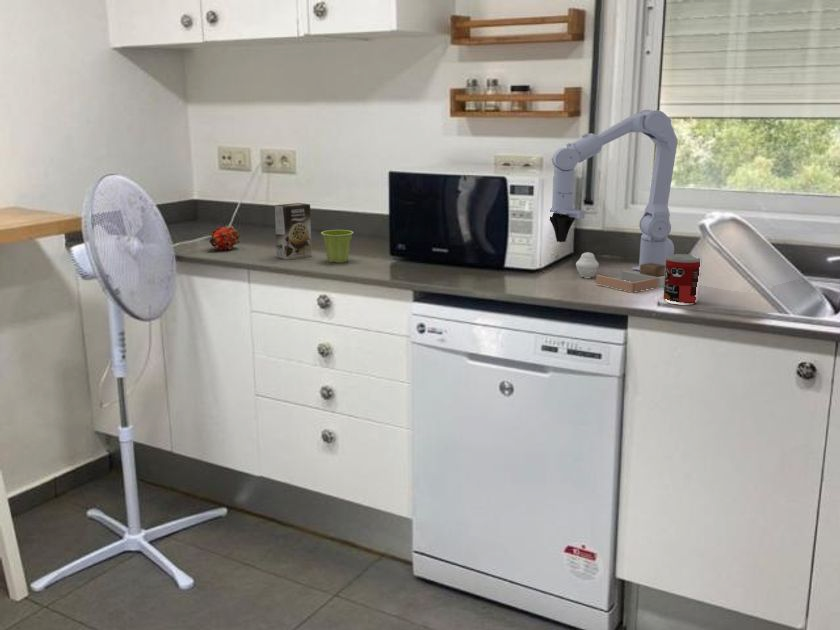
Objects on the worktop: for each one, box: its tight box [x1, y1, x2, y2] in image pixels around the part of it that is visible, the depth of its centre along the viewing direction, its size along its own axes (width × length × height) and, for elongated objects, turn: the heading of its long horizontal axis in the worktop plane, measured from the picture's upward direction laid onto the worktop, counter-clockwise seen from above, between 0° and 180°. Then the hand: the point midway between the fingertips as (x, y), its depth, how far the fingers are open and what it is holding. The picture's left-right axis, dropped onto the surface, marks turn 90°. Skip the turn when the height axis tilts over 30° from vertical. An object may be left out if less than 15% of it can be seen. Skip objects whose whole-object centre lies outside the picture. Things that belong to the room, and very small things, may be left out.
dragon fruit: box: [209, 224, 240, 252], centre depth 271 cm, size 8×8×12 cm
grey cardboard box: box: [274, 202, 313, 261], centre depth 258 cm, size 9×6×16 cm
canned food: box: [663, 253, 700, 303], centre depth 202 cm, size 8×8×11 cm
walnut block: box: [639, 263, 665, 277], centre depth 225 cm, size 4×4×4 cm
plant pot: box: [320, 229, 354, 264], centre depth 253 cm, size 9×9×9 cm
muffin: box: [575, 251, 600, 278], centre depth 230 cm, size 6×6×7 cm
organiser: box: [595, 270, 665, 293], centre depth 223 cm, size 20×12×2 cm, turn 127°
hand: (561, 241), depth 237 cm, fingers closed
